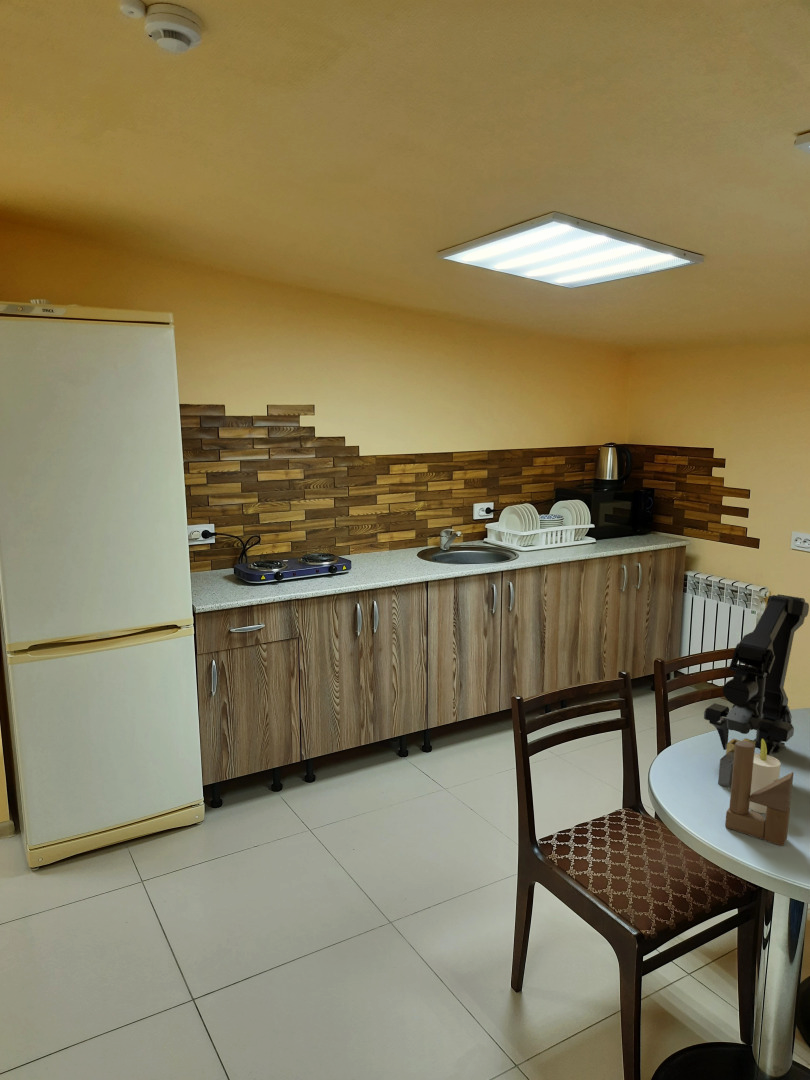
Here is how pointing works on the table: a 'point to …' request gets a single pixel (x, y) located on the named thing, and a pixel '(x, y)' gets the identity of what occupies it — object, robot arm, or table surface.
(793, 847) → the table surface
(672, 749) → the table surface
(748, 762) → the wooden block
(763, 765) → the candle
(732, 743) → the square hoop paddle
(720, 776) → the block with metal peg
